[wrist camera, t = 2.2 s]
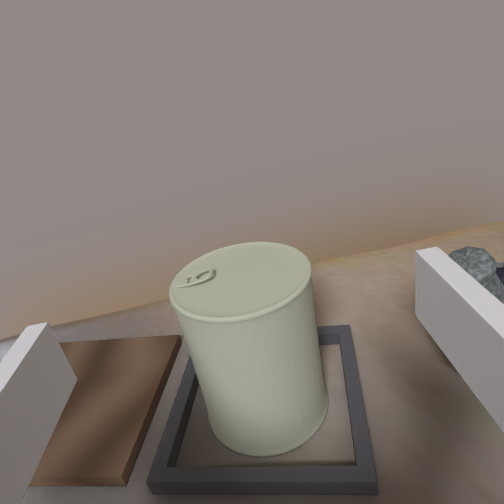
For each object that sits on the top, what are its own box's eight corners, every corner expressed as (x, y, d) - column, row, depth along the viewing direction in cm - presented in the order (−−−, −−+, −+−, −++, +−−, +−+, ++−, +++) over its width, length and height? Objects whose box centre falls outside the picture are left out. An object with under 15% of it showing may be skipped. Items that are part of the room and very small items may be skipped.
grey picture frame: (151, 493, 25) (146, 482, 25) (200, 345, 37) (197, 335, 37) (377, 494, 23) (377, 482, 22) (350, 335, 35) (349, 324, 34)
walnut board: (-76, 485, 29) (-84, 477, 28) (36, 352, 41) (32, 345, 40) (125, 485, 26) (121, 476, 25) (181, 342, 38) (179, 334, 38)
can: (212, 367, 34) (177, 247, 29) (317, 352, 34) (301, 226, 28) (203, 466, 26) (151, 324, 21) (340, 448, 26) (324, 297, 20)
